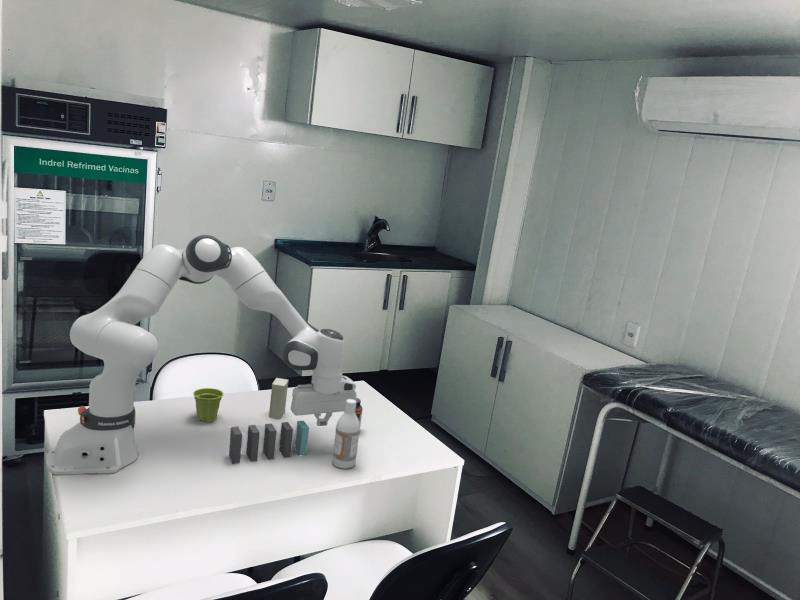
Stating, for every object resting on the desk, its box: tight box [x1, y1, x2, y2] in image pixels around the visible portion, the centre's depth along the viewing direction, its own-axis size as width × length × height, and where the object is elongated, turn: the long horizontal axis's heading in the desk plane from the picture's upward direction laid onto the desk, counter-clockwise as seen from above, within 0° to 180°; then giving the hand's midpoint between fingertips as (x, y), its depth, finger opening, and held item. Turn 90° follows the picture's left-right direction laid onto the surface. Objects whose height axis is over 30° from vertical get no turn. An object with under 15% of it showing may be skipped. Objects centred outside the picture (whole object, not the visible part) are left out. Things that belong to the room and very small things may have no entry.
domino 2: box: [245, 424, 261, 463], centre depth 183 cm, size 2×5×9 cm, turn 28°
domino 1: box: [228, 426, 243, 464], centre depth 180 cm, size 2×5×9 cm, turn 28°
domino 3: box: [262, 423, 278, 461], centre depth 185 cm, size 2×5×9 cm, turn 28°
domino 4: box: [278, 421, 294, 459], centre depth 187 cm, size 2×5×9 cm, turn 28°
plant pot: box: [192, 387, 224, 423], centre depth 204 cm, size 9×9×9 cm
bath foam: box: [331, 399, 361, 470], centre depth 185 cm, size 7×7×20 cm
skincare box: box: [268, 377, 289, 420], centre depth 213 cm, size 6×4×12 cm
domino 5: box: [294, 420, 310, 456], centre depth 190 cm, size 2×5×9 cm, turn 28°
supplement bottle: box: [343, 397, 363, 425], centre depth 208 cm, size 6×6×11 cm
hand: (321, 425), depth 192 cm, fingers closed
